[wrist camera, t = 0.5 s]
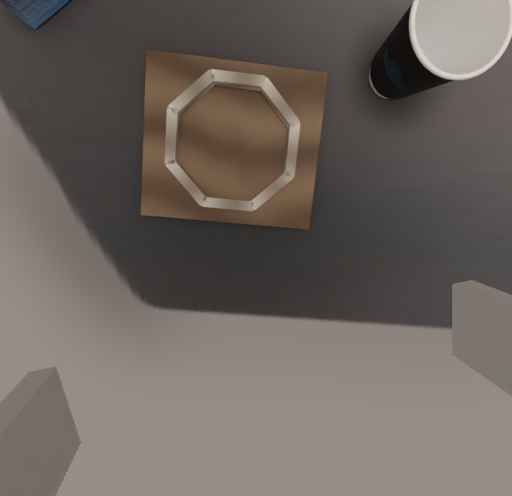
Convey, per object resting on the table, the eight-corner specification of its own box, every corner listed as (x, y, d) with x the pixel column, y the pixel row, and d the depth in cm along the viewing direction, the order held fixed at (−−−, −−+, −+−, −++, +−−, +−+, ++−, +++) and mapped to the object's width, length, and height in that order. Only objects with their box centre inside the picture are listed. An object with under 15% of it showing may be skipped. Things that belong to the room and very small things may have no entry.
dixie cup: (439, 53, 34) (536, -13, 23) (407, 126, 35) (485, 96, 24) (373, 20, 33) (441, -65, 22) (342, 96, 34) (392, 52, 23)
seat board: (149, 54, 32) (142, 42, 29) (325, 76, 33) (332, 67, 31) (143, 214, 34) (136, 215, 32) (306, 228, 36) (312, 231, 33)
